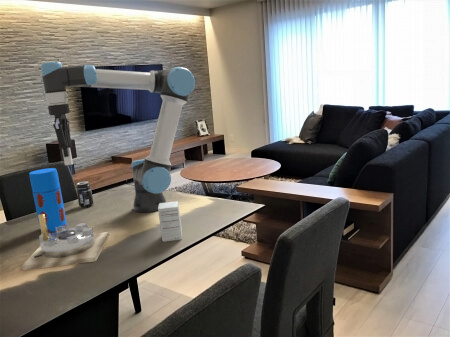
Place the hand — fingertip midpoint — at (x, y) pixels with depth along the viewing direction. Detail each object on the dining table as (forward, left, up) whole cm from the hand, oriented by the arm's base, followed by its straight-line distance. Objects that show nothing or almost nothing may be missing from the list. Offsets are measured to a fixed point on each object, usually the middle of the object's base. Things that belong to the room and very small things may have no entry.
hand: (68, 164), depth 165 cm
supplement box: (-38, +18, -29) cm, 51 cm away
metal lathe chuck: (-1, +20, -27) cm, 33 cm away
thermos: (+14, -10, -29) cm, 33 cm away
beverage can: (+7, -39, -29) cm, 49 cm away
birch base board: (-1, +20, -28) cm, 35 cm away
